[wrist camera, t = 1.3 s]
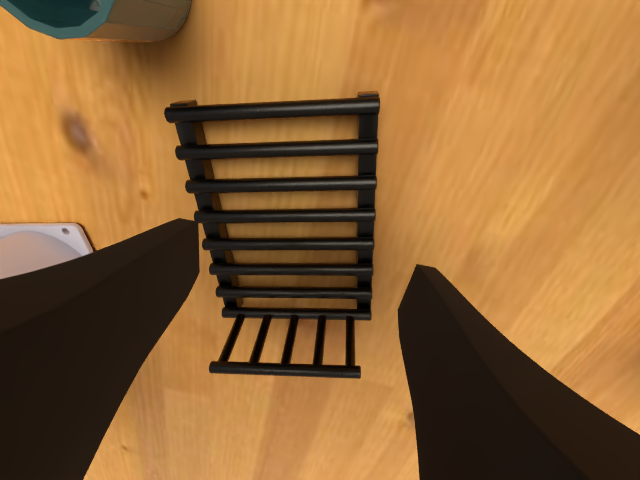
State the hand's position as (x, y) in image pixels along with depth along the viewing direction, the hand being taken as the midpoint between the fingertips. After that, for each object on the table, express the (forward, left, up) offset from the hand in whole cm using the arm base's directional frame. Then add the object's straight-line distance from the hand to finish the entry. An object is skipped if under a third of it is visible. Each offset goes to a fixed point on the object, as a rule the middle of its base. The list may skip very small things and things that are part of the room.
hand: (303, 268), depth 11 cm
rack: (-2, -3, -10) cm, 11 cm away
